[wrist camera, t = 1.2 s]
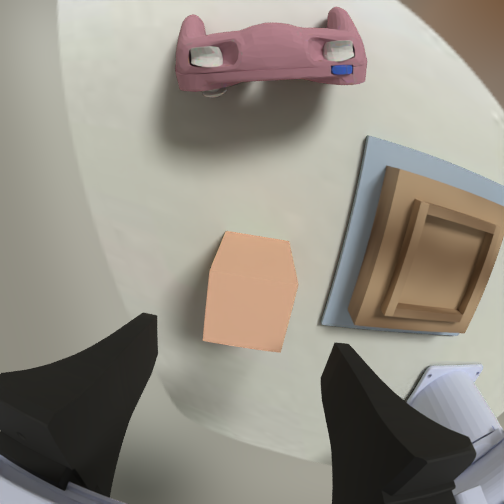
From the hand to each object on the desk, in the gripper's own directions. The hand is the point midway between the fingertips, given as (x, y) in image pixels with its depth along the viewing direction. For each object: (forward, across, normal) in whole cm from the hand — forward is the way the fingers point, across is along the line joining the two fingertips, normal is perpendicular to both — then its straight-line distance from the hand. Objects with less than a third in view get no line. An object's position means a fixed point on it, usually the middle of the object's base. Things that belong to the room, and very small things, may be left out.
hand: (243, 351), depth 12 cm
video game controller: (+9, +1, -13) cm, 16 cm away
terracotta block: (+9, 0, 0) cm, 9 cm away
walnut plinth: (+9, -12, -3) cm, 15 cm away
